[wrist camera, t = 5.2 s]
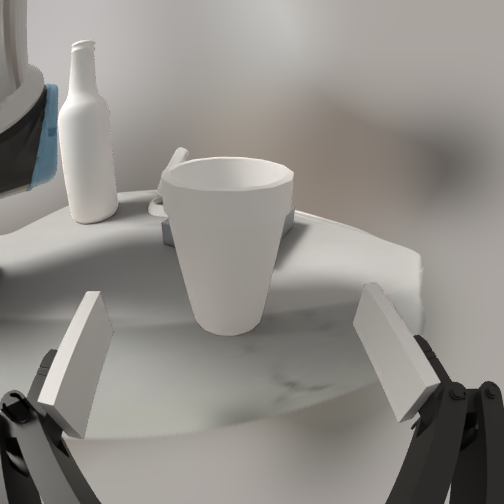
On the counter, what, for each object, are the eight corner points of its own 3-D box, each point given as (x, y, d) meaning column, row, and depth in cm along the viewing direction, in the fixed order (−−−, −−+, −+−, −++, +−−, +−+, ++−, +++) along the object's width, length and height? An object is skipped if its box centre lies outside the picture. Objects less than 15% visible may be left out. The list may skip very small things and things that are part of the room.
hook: (219, 169, 51) (205, 154, 44) (189, 231, 51) (170, 224, 44) (186, 157, 52) (169, 142, 45) (157, 215, 52) (136, 207, 46)
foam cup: (251, 273, 32) (256, 154, 26) (299, 327, 25) (321, 182, 19) (166, 295, 29) (150, 165, 22) (196, 363, 22) (177, 200, 15)
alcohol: (100, 226, 42) (87, 33, 26) (63, 223, 43) (46, 49, 28) (128, 205, 49) (120, 38, 34) (91, 204, 50) (80, 49, 35)
